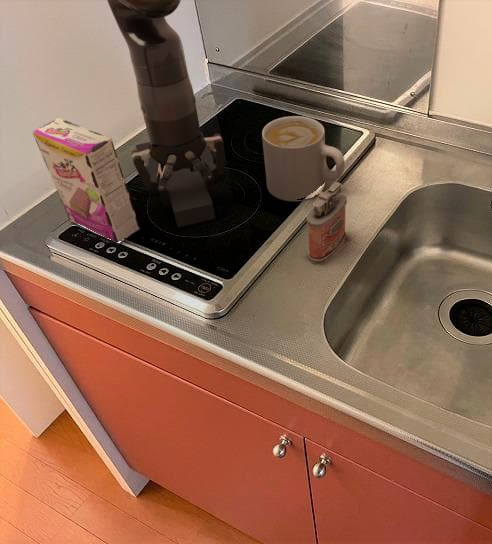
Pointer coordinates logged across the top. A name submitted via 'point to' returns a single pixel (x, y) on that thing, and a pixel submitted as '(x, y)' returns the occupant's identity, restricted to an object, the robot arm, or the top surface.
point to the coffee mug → (297, 157)
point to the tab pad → (189, 198)
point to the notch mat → (153, 164)
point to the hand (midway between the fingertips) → (189, 201)
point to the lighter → (327, 225)
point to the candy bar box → (88, 178)
